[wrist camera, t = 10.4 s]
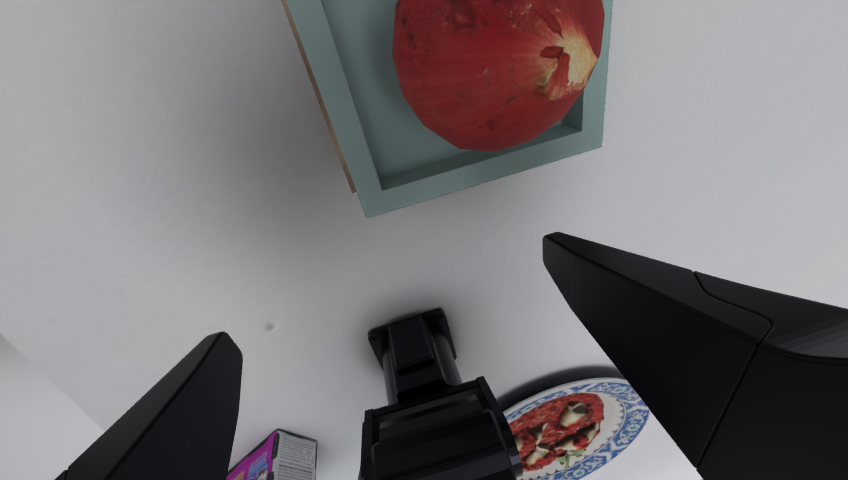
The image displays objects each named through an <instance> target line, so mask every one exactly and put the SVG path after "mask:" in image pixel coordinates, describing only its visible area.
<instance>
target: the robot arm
mask: <svg viewBox="0 0 848 480" xmlns="http://www.w3.org/2000/svg"><path fill="white" fill-rule="evenodd" d="M543 262H544V265H545V267H546V269H547V270H548V272H549V274H550V275H551V277H552V279H553V280H554V282H555V284H556V285H557V287H558V289H559V290H560V292H561V293H562V295H563V297H564V298H565V300H566V302H567V303H568V305H569V306H570V308H571V309H572V311H573V312H574V313H575V315H576V316H577V317H578V319H579V320H580V321H581V322H582V324H583V325H584V326H585V328H586V329H587V330H588V331H589V333H590V334H591V335H592V337H593V338H594V339H595V340H596V342H597V343H598V344H599V346H600V347H601V348H602V349H603V351H604V352H605V353H606V354H607V356H608V357H609V358H610V360H611V361H612V362H613V363H614V365H615V366H616V367H617V369H618V370H619V371H620V372H621V374H622V375H623V376H624V378H625V379H626V380H627V381H628V383H629V384H630V385H631V387H632V388H633V389H634V390H635V392H636V393H637V394H638V396H639V397H640V398H641V399H642V401H643V402H644V403H645V405H646V406H647V407H648V408H649V410H650V411H651V412H652V414H653V415H654V416H655V417H656V419H657V420H658V421H659V422H660V424H661V425H662V426H663V428H664V429H665V430H666V431H667V433H668V434H669V435H670V437H671V438H672V439H673V440H674V442H675V443H676V444H677V446H678V447H679V448H680V449H681V451H682V452H683V453H684V455H685V456H686V457H687V458H688V460H689V461H690V462H691V464H692V465H693V466H694V467H695V468H697V469H696V470H697V472H698V473H699V474H700V475H701V477H702V478H703V479H704V480H848V309H846V308H841V307H837V306H833V305H829V304H824V303H820V302H816V301H811V300H807V299H803V298H798V297H794V296H790V295H785V294H781V293H777V292H773V291H768V290H764V289H760V288H756V287H752V286H748V285H744V284H740V283H736V282H732V281H729V280H725V279H721V278H718V277H714V276H710V275H707V274H704V273H700V272H697V271H694V272H693V271H692V270H690V269H686V268H683V267H679V266H676V265H672V264H669V263H665V262H662V261H658V260H655V259H651V258H648V257H644V256H641V255H637V254H634V253H630V252H627V251H623V250H620V249H616V248H613V247H609V246H606V245H602V244H599V243H596V242H592V241H589V240H585V239H582V238H578V237H575V236H571V235H568V234H564V233H561V232H554V233H551V234H548V235H545V236H544V237H543ZM437 315H439V316H437ZM373 336H375V337H373ZM368 340H369V342H370V344H371V346H372V348H373V350H374V353H375V355H376V357H377V359H378V361H379V363H380V365H381V367H382V369H383V371H384V376H385V384H386V392H387V399H388V406H384V407H381V408H377V409H374V410H373V409H369V410H366V411H365V419H364V422H363V427H362V448H361V466H360V471H359V476H358V480H517V479H516V477H520V476H523V468H522V463H521V459H520V455H519V451H518V448H517V445H516V442H515V439H514V436H513V434H512V431H511V428H510V426H509V424H508V421H507V419H506V417H505V415H504V414H503V412H502V410H501V408H500V406H499V404H498V402H497V400H496V399H495V397H494V395H493V393H492V391H491V389H490V387H489V386H488V384H487V382H486V380H485V378H484V376H481V377H478V378H476V380H472V381H469V382H465V383H462V380H461V378H460V375H459V372H458V369H457V366H456V363H455V360H456V353H455V349H454V346H453V342H452V338H451V334H450V331H449V327H448V323H447V320H446V316H445V313H444V311H443V310H442V309H436V310H433V311H430V312H427V313H424V314H421V315H418V316H415V317H412V318H409V319H406V320H402V321H399V322H396V323H393V324H390V325H387V326H384V327H381V328H378V329H375V330H372V331H370V332H369V333H368ZM242 362H243V357H242V353H241V351H240V349H239V348H238V346H237V345H236V344H235V343H234V341H233V340H232V339H231V337H230V336H229V335H228V334H227V333H226V332H218V333H215V334H211V335H208V336H207V337H205V338H204V339H203V340H202V341H201V342H200V343H199V344H198V345H197V346H196V347H195V348H194V349H193V350H192V351H190V352H189V353H188V354H187V355H186V356H185V357H184V358H183V359H182V360H181V361H180V362H179V363H178V364H177V365H176V366H175V367H174V368H172V369H171V370H170V371H169V372H168V373H167V374H166V375H165V376H164V377H163V378H162V379H161V380H160V381H159V382H158V383H157V384H156V385H154V386H153V387H152V388H151V389H150V390H149V391H148V392H147V393H146V394H145V395H144V396H143V397H142V398H141V399H140V400H139V401H138V402H136V403H135V404H134V405H133V406H132V407H131V408H130V409H129V410H128V411H127V412H126V413H125V414H124V415H123V416H122V417H121V418H120V419H118V420H117V421H116V422H115V423H114V424H113V425H112V426H111V427H110V428H109V429H108V430H107V431H106V432H105V433H104V434H103V435H102V436H100V437H99V438H98V439H97V440H96V441H95V442H94V443H93V444H92V445H91V446H90V447H89V448H88V449H87V450H86V451H85V452H84V453H82V454H81V455H80V456H79V457H78V458H77V459H76V460H75V461H74V462H73V463H72V464H71V465H70V466H69V467H68V470H65V471H63V472H62V473H61V474H60V475H59V476H58V477H57V478H56V479H55V480H226V478H227V473H228V467H229V462H230V457H231V451H232V446H233V441H234V435H235V430H236V425H237V419H238V412H239V402H240V389H241V376H242Z"/></svg>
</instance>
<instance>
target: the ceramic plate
mask: <svg viewBox="0 0 848 480" xmlns="http://www.w3.org/2000/svg"><path fill="white" fill-rule="evenodd" d="M650 412H651V411H650V410H649V408H648V407H647V406H646V405H645V403H644V402H643V401H642V399H641V398H640V397H639V396H638V394H637V393H636V392H635V390H634V389H633V388H632V387H631V385H630V384H629V383H628V381H627V380H626V379H620V378H591V379H585V380H580V381H574V382H570V383H566V384H562V385H559V386H557V387H554V388H551V389H548V390H545V391H542V392H540V393H538V394H536V395H533V396H531V397H529V398H527V399H525V400H523V401H521V402H519V403H517V404H515V405H514V406H512V407H510V408H509V409H507V410H505V411H504V412H503V414H504V415H505V417H506V419H507V421H508V424H509V426H510V428H511V431H512V434H513V436H514V439H515V442H516V445H517V448H518V451H519V455H520V459H521V463H522V468H523V476H520V477H516V479H517V480H579V479H581V478H583V477H585V476H587V475H588V474H590V473H592V472H594V471H596V470H598V469H599V468H601V467H602V466H604V465H605V464H607V463H608V462H609V461H611V460H612V459H613V458H615V457H616V456H617V455H619V454H620V453H621V452H622V451H624V450H625V449H626V448H627V447H628V446H629V445H630V444H631V443H632V442H633V441H634V439H635V438H636V437H637V436H638V435H639V434H640V432H641V431H642V430H643V428H644V427H645V425H646V423H647V420H648V418H649V415H650Z"/></svg>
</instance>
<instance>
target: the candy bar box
mask: <svg viewBox="0 0 848 480" xmlns="http://www.w3.org/2000/svg"><path fill="white" fill-rule="evenodd" d="M316 459H317V442H316V441H314V440H312V439H309V438H306V437H301V436H298V435H294V434H290V433H287V432H284V431H280V430H276V431H275V432H274V433H272V434H271V435H270V436H269V437H268V438H267V439H266V440H264V441H263V442H262V443H261V444H260V445H259V446H258V447H257V448H256V449H254V450H253V451H252V452H251V453H250V454H249V455H248V456H247V457H246V458H245V459H243V460H242V461H241V462H240V463H239V464H238V465H237V466H236V467H235V468H233V469H232V470H231V471H230V472H229V473H228V474H227V478H226V480H316Z"/></svg>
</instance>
